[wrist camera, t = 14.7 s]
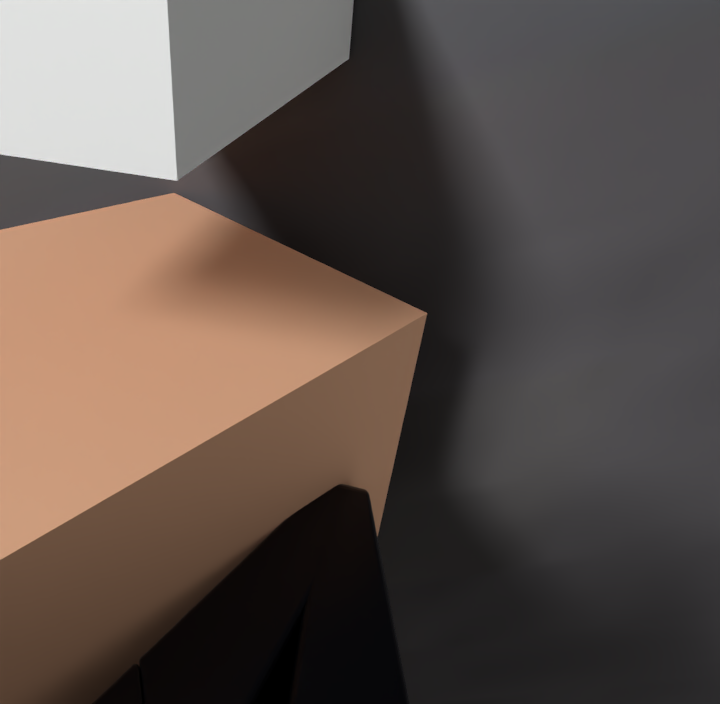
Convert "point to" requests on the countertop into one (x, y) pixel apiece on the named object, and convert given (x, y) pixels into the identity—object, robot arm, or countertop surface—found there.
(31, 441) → the doorstop block
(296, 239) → the countertop surface
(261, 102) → the twin post hurdle
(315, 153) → the countertop surface
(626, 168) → the countertop surface
